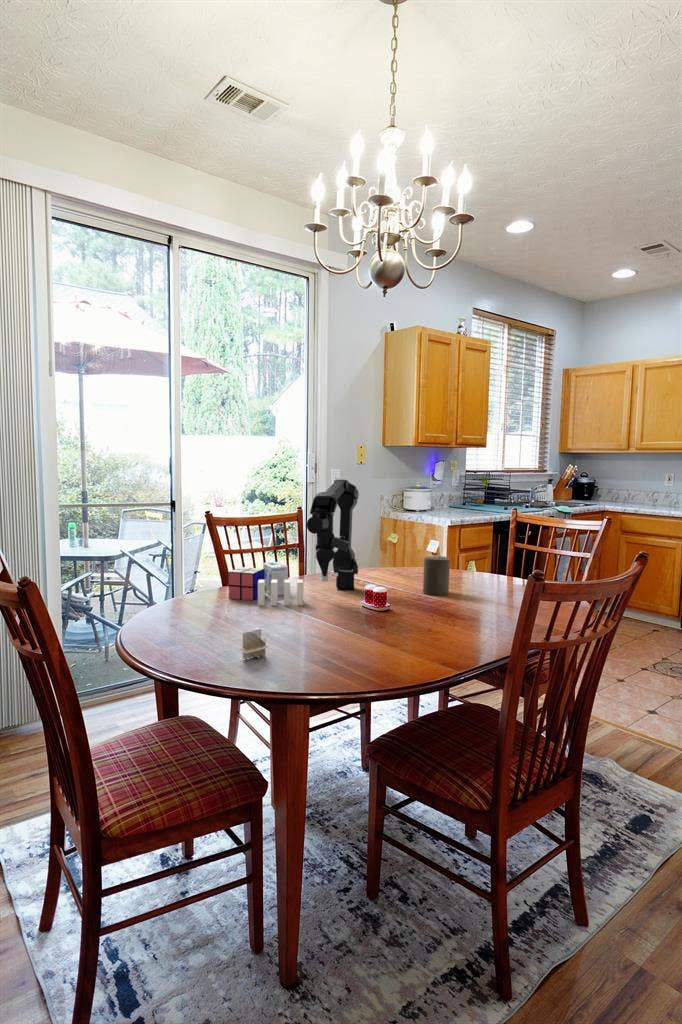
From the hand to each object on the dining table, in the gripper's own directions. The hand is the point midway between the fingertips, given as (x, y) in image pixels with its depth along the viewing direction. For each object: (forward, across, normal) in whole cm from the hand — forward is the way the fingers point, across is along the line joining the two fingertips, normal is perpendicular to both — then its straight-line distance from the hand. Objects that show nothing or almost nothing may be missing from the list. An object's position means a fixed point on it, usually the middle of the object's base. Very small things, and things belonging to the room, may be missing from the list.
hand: (324, 574), depth 204 cm
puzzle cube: (+11, +10, +28) cm, 32 cm away
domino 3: (+10, 0, +13) cm, 17 cm away
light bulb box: (+11, +17, +18) cm, 27 cm away
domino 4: (+10, 0, +8) cm, 13 cm away
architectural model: (+11, -56, +19) cm, 60 cm away
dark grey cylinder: (+11, +15, -43) cm, 47 cm away
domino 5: (+2, 0, 0) cm, 2 cm away
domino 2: (+10, 0, +18) cm, 20 cm away
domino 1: (+10, 0, +22) cm, 24 cm away
